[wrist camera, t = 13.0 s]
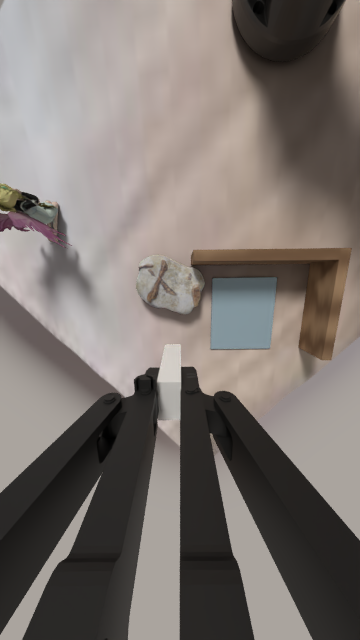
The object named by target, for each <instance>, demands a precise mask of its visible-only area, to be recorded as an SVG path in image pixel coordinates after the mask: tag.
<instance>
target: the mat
mask: <svg viewBox="0 0 360 640" xmlns="http://www.w3.org/2000/svg"><path fill="white" fill-rule="evenodd" d="M276 284H277V277H261V278H212V311H211V349H259V348H270V343H271V333H272V324H273V314H274V304H275V294H276Z"/></svg>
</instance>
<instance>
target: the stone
mask: <svg viewBox="0 0 360 640" xmlns="http://www.w3.org/2000/svg"><path fill="white" fill-rule="evenodd" d="M204 285H205V281H204V278H203V276H202V274H201V273H200V271H199V270H197V269H195V268H193V267H187V266H184V265H182V264H180V263H177V262H176V261H174V260H172V259H170V258H168V257H166V256H164V255H159V254H158V255H152V256H149V257H147V258H145V259H144V260H143V261H141V262H140V264H139V276H138V278H137V283H136V289H137V291H138V294H139V295H140V297H141V298H142V299H143V300H144V301H146V302H147V303H148V304H149V305H151V306H153V307H155V308H166V309H169V310H171V311H174V312H177V313H179V314H189V313H190V312H191V311H192V309H193V307H197V306H198V304H199V301H200V298H201V291H202V289H203V287H204Z"/></svg>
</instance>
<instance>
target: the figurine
mask: <svg viewBox="0 0 360 640" xmlns="http://www.w3.org/2000/svg"><path fill="white" fill-rule="evenodd" d="M0 209H1V210H2V211H10V212H9V213H8V214H1V213H0V232H2V231H4V229H6V228H8V229H9V230H11V227H13V226H14V228H17V230H20V231H25V232H26V231H30V230H24V228H26V227H27V226H28V227H29V228H30V229H32V230H33V228H34V229H35V230H36V231H38V232H39V231H40V232H41V233H42V234H43V235H44V236H46V237H47V238H48V240H49V241H51V242H53V241H54V242H56V243H57V244H59V243H58V239H59V237H57V233H59V232H58V231H57V218H58V203H57V202H53V203H51V202H50V201H45V202H41V203H40V201H39V199H38V197H36V196H35V195H32V194H28V193H25V192H21V191H19V190H18V189H12V188H11V187H9V186H8V185H6V184H0ZM15 212H16V213H15ZM52 221H53V228H54V229H52V228H51V222H52ZM46 224H47V225H46ZM26 225H27V226H26ZM31 226H32V227H33V228H32V227H31ZM51 230H52V231H54V232H52V231H51ZM33 231H34V230H33ZM59 234H62V235H64V236H66V235H65V234H63V233H59ZM59 240H61V239H59ZM61 241H63V240H61ZM63 242H64V241H63ZM65 243H66V242H65ZM67 244H68V243H67ZM59 245H61V244H59ZM69 245H70V244H69ZM61 246H63V245H61ZM71 246H72V245H71ZM63 247H64V246H63ZM65 248H66V247H65ZM67 249H68V248H67Z"/></svg>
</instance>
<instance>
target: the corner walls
mask: <svg viewBox="0 0 360 640" xmlns="http://www.w3.org/2000/svg"><path fill="white" fill-rule="evenodd" d="M351 249H352V248H321V249H238V250H193V253H192V255H191V265H234V264H310V268H309V276H308V283H307V290H306V297H305V304H304V312H303V319H302V326H301V333H300V341H299V348H300V349H302V350H304V351H306V352H308V353H310V354H311V355H313V356H315V357H317V358H319V359H321V360H331V358H332V353H333V347H334V342H335V337H336V331H337V326H338V320H339V315H340V309H341V304H342V298H343V293H344V287H345V282H346V277H347V271H348V266H349V260H350V255H351Z"/></svg>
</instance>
